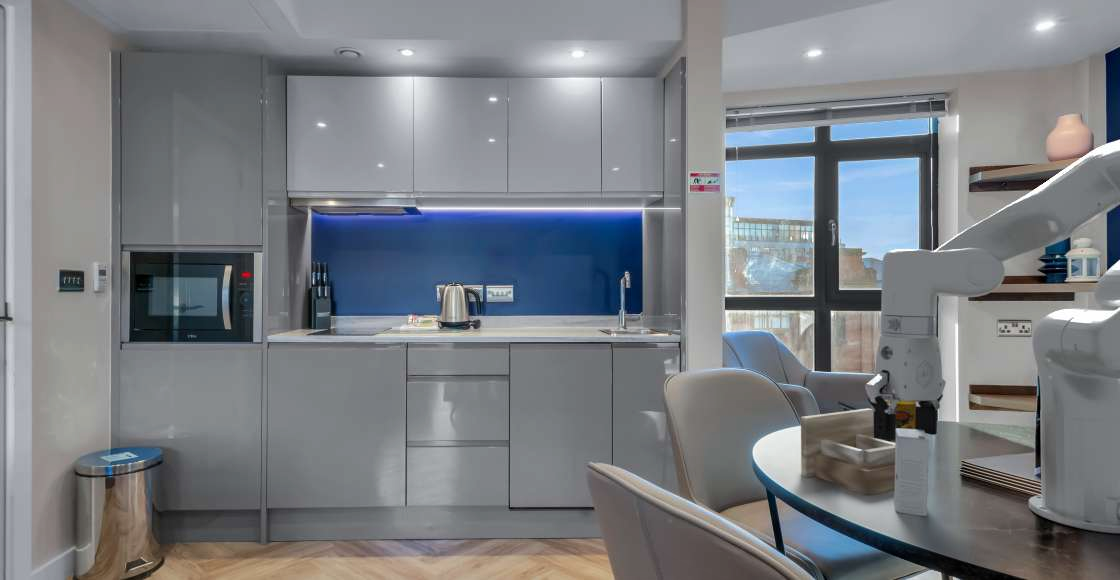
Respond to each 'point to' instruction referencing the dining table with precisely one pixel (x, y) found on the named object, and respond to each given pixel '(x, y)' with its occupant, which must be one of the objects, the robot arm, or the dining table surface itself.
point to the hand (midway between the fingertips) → (905, 435)
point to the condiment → (904, 415)
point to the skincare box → (911, 471)
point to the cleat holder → (847, 451)
